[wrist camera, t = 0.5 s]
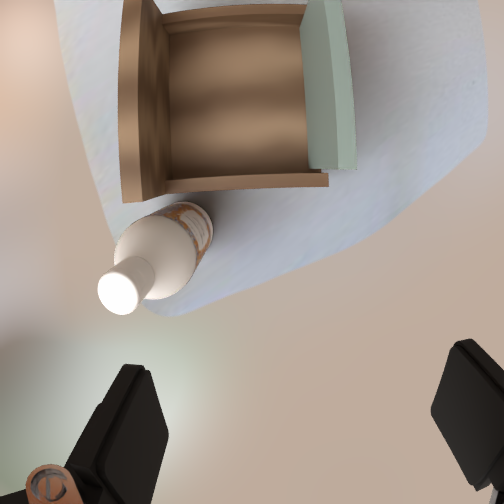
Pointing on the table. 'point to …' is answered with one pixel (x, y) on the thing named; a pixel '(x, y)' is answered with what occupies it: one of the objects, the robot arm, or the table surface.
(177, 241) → the bath foam
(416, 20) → the table surface
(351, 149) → the panel
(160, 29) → the tray
